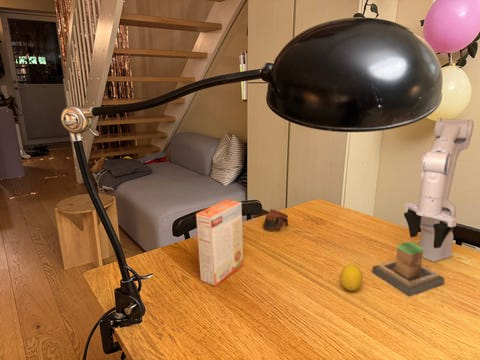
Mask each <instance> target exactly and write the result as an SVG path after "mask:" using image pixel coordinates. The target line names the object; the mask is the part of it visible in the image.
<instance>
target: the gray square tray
mask: <svg viewBox="0 0 480 360" xmlns="http://www.w3.org/2000/svg"><path fill="white" fill-rule="evenodd" d="M395 266H396V259H394V260H391V261H388V262H384V263H381V264H377V265H373V266H372V270H371V272H372V274H374V275H375V276H377V277H378V278H380V280H382V281H384V282H385V283H387V284H389V285H391V286H392V287H393V288H395V289H397V290H398V291H400V292H401V293H403V294H405V296H407V297H413V296H415V295H418V294H420V293H423V292H427V291H430V290H432V289H435V288H439V287H441V286H444V283H445V277H444V276H441V275H440V274H438V273H437V272H435V271H433V270H431V269H429V268H427V267H425V266H424V265H422V264H421V270H420V274H419V275H416V276H413V277H409V278H407V277H406V276H404V275H402V274H401V273H399V272H397V271H396V270H395Z"/></svg>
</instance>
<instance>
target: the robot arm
mask: <svg viewBox="0 0 480 360" xmlns="http://www.w3.org/2000/svg"><path fill="white" fill-rule="evenodd" d="M474 122H475V121H474V120H473V119H461V118H460V119H459V118H458V119H457V118H456V119H455V118H441V117H439V118H438V119H436V122H435V125H434V131H433V132H434V133H433V135H434V141H433V142H432V144H431V145H430V148H429V150H428V151H427V152H424V153H423V155H422V157H421V164H420V169H421V174H420V178H421V184H420V191H419V198H418V204H415V203H412V202H406V203H404V211H406V212H404V213H403V217H404V219H405V220H406V223H407V226H408V231H409V237H410V238H415V237H418V234H420V236H419V243H418V246H420V247H422V248H424V249H423V256H422V258H423V259H426V260H428V261H430V262H433V263H434V262H437V261H441V260H444V259H447V258H451V257H453V256H454V254H453V253H452V250H453V249H452V248H453V243H454V233H453V229H454V228H455V227H457V222H458V219H457V218H456V216H457V215H456V214H457V209H456V205H454V204H453V203H452V202H451V201H450V200H449V198H450V197H449V196H450V193H451V187H452V183H453V179H454V175H455V170H456V166H457V161H458V158H459V156H460V154H461V152H462V151H463V150H464V151H465V150H466V149H468V148H469V146H470V143H471V139H472V135H473V131H474V124H475V123H474ZM419 229H421V230H420V233H419Z"/></svg>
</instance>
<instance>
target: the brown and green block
mask: <svg viewBox="0 0 480 360" xmlns="http://www.w3.org/2000/svg"><path fill="white" fill-rule="evenodd" d="M423 249H424V248H422V247H420V246H419V244H416V243H414V242H412V241H407V242H403V243H399V244H397V251H396V259H395V260H396V266H395V270H396V271H397V272H399V273H401V274H402V275H404V276H406V277H407V278H409V277H413V276H416V275H419V274H420V270H421V265H422V261H423V257H422V256H423Z"/></svg>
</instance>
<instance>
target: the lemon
mask: <svg viewBox="0 0 480 360" xmlns="http://www.w3.org/2000/svg"><path fill="white" fill-rule="evenodd" d="M339 277H340V278H339V279H340V282H341V283H340V284H341V285H342V286H343V288H344V289H346V290H347V291H349V292H352V291H357V290H358V289H360V287H361V285H362V283H363V273H362V270H361V268H360V267H359V266H357V265H356V264H354V263H350V264H346V265H344V266H343V268H342V270H341V273H340V276H339Z"/></svg>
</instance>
